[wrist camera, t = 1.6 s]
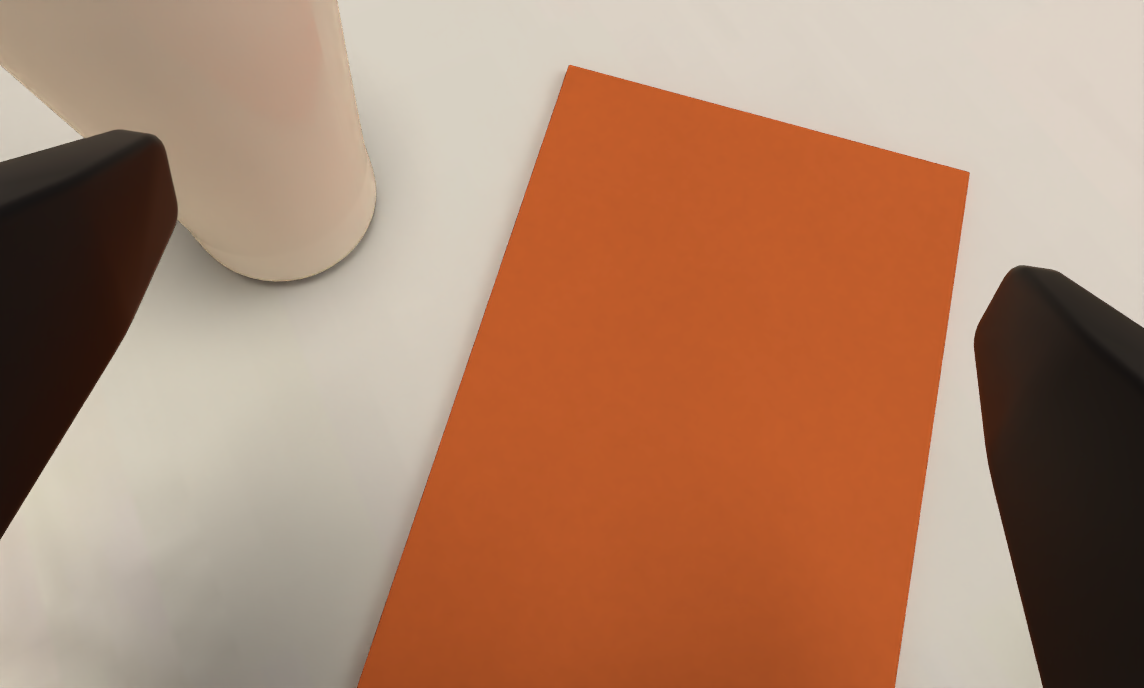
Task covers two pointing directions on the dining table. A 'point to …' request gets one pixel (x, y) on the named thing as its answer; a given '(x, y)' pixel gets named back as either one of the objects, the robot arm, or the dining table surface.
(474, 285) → the dining table surface
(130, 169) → the robot arm
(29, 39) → the drinking glass
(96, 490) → the dining table surface
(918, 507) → the cloth
